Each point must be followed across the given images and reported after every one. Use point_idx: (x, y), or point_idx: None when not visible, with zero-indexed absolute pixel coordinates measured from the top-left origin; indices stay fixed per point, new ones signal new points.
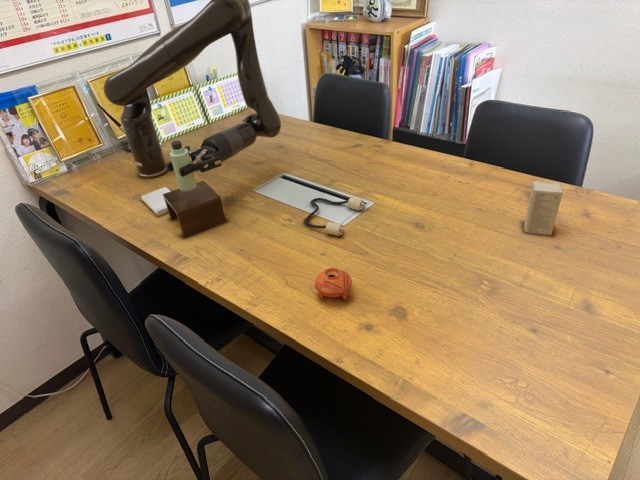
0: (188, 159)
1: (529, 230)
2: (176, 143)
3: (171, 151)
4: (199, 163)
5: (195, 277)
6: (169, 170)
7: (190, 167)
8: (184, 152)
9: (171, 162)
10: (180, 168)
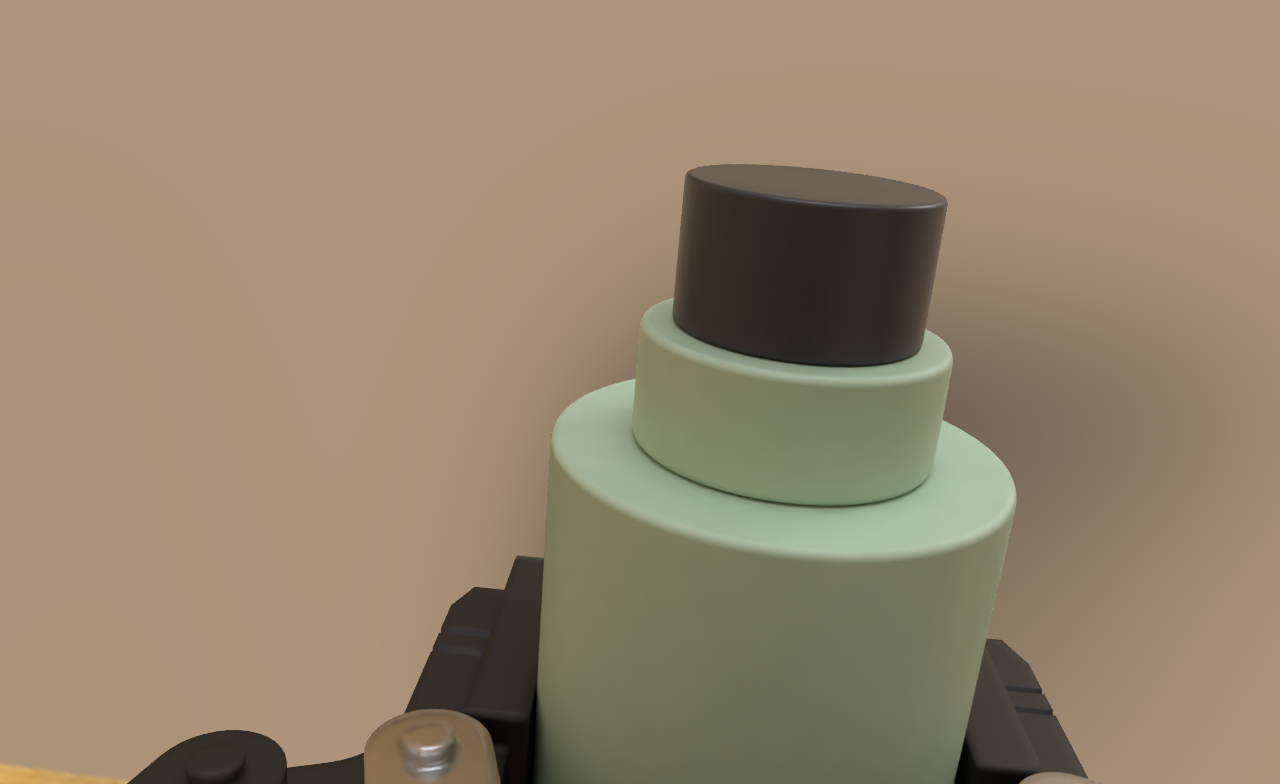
0: (552, 633)
1: None
2: (753, 173)
3: (961, 435)
4: (242, 752)
5: (74, 779)
6: None
7: (423, 675)
8: (623, 452)
9: None
10: None
